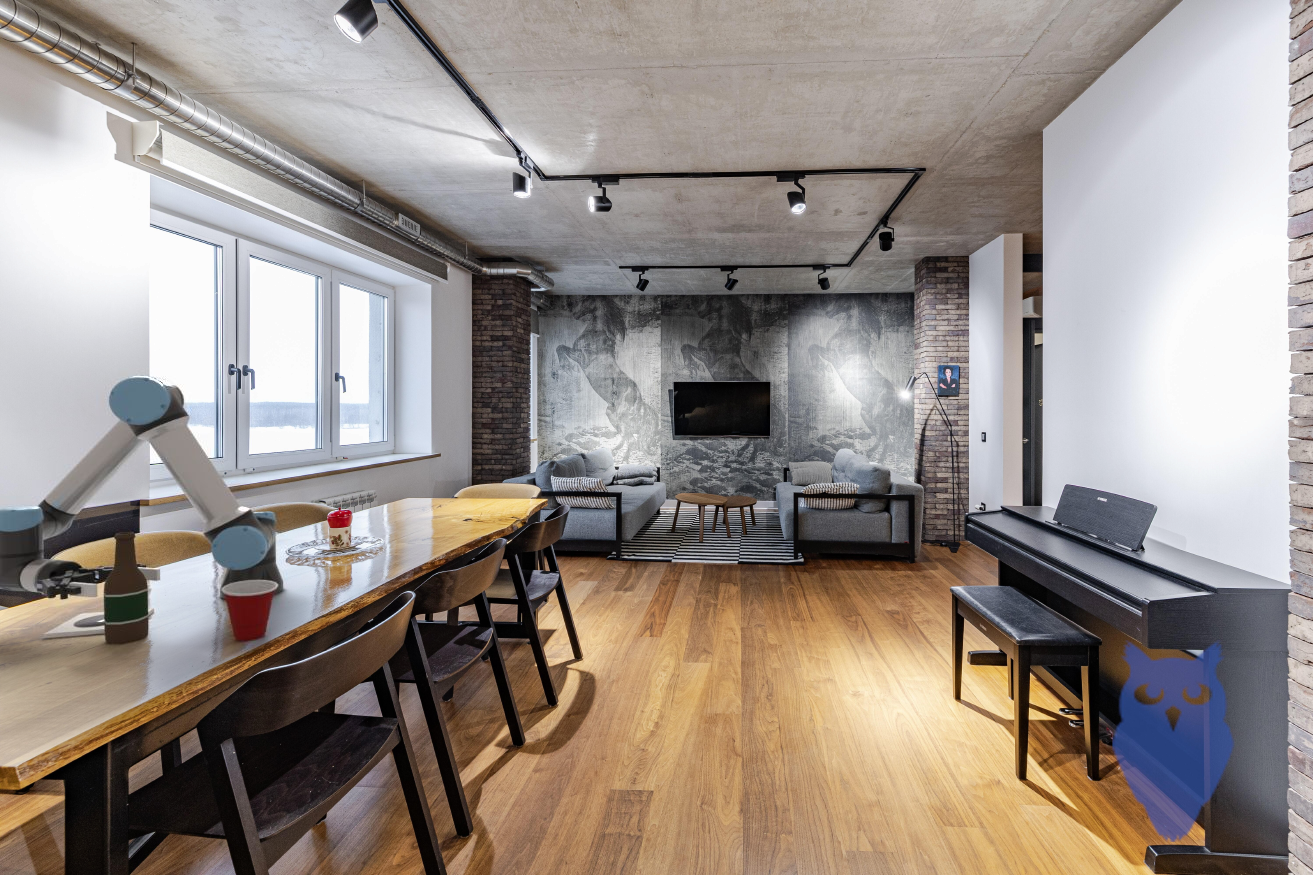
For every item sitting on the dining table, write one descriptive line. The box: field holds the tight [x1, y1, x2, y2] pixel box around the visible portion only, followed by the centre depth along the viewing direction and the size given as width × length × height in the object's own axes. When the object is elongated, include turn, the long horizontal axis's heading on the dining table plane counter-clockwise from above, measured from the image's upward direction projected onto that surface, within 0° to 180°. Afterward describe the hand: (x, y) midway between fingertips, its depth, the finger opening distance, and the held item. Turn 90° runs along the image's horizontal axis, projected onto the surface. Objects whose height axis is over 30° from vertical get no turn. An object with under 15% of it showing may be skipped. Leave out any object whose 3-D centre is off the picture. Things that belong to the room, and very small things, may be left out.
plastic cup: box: [222, 580, 278, 642], centre depth 141 cm, size 11×11×12 cm
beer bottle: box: [103, 531, 149, 645], centre depth 139 cm, size 8×8×24 cm
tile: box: [43, 607, 155, 639], centre depth 148 cm, size 15×15×1 cm
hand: (128, 582), depth 138 cm, fingers open, 13 cm apart
